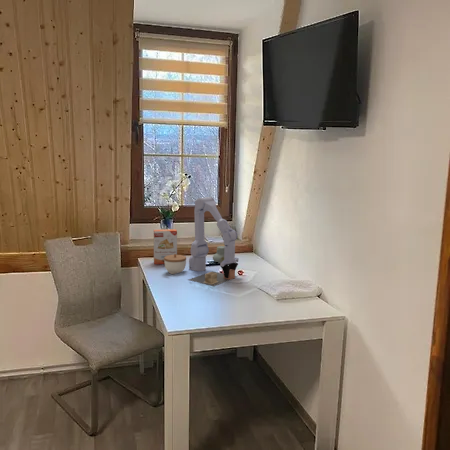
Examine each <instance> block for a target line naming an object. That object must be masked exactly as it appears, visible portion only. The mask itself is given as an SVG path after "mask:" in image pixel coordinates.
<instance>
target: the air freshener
mask: <svg viewBox="0 0 450 450" xmlns="http://www.w3.org/2000/svg"><path fill="white" fill-rule="evenodd" d="M224 247H225V245H219V246H216V253H214V254H213V256H212V260H213V261H214V263H216V262H218V263H217V264H220V263H221V262H222V261H224Z"/></svg>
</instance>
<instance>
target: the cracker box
mask: <svg viewBox="0 0 450 450" xmlns="http://www.w3.org/2000/svg"><path fill="white" fill-rule="evenodd" d="M174 254H176V255H178V230H177V229H176V228H172V229H171V228H169V229H167V228H166V229H153V264H154V265H165V262H164V257H165V256H168V255H174Z"/></svg>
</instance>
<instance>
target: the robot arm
mask: <svg viewBox="0 0 450 450" xmlns="http://www.w3.org/2000/svg"><path fill="white" fill-rule="evenodd" d="M216 204H217V202H216V200H215V199H214V197H212V196H208V197H205V196H204V197H198V198H196V199H195V201H194V209H193V210H194V212H193V213H194V241H192V242H191V247H190V255H191V256H190V257H189V259H188V270H192V271H194V272H205V271H206V270H207V269H206V268H207V267H206V266H207V265H206V262H207V259H206V258H207V255H208V254H209V250H210V249H209V246H208V242H207V241H206V239H205V212H209V213H210V214H211V215H212V217H213V219H214V220H215V221H216V226H217V227H218V230H219V231H220V233H221V234H222V237H221V239H222V241H223V246H225V247H224V261H222V262H221V263H219V264H220V265H219V266H220V268H221V269H222V272H223V274H224V276H225V278H228V277H229V271H230V269H233V270H235V271H236V269H237V267H238V265H239V263H238V262H239V258H238V257H236V241H237V239H238V232H237V231H236V230H234V229H233V228H232V227H231V226H230V223H228V220H226V219H224V218H223V217H222V215H221V213H220V211H219V209H218V207H217V206H216Z"/></svg>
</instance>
